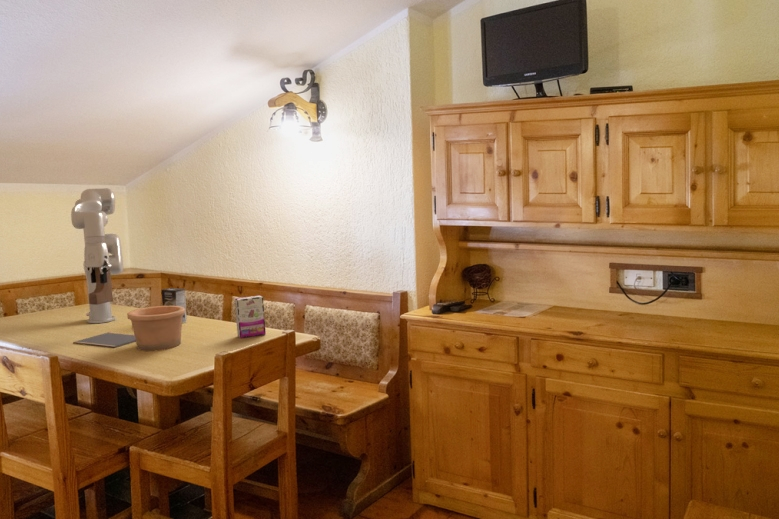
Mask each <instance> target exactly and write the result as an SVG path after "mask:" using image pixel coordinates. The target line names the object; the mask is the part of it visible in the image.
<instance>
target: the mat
mask: <svg viewBox="0 0 779 519" xmlns="http://www.w3.org/2000/svg"><path fill="white" fill-rule="evenodd" d="M72 343H73V344H74V343H78V344H77V345H83V344H85V345H86V346H91V347H92V346H94V347H100V348H101V347H102V348H111V349H115V348H116V349H117V348H119V347H122V346H125V345H129V344H133V343H136V339H135V335H134V334H129V333H121V332H111V331H109V332H105V333H101V334H97V335H93V336H90V337H86V338H83V339H80V340H75V341H73V342H72Z"/></svg>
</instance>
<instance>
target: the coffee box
mask: <svg viewBox="0 0 779 519" xmlns="http://www.w3.org/2000/svg"><path fill="white" fill-rule="evenodd" d="M161 300H162V303H161V304H162V306H180V307H184V308H185V313H184V314H183V316H182V324H184V323H183V322H185V323H187V322H188V320H187V318H188V317H187V302H186V301H187V300H186V288H178V287H176V288H175V287H169V288H164V289H161ZM186 321H187V322H186Z"/></svg>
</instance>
